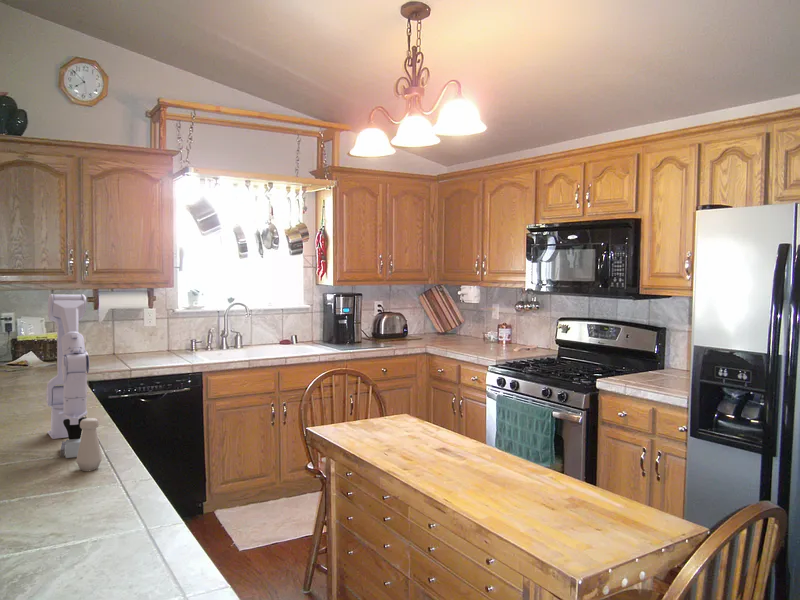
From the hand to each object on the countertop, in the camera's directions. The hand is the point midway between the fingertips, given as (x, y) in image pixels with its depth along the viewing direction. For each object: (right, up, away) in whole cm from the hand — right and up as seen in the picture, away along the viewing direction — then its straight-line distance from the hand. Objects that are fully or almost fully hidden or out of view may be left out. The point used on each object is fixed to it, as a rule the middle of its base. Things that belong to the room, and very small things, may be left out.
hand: (74, 444), depth 168 cm
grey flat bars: (-1, -2, +1) cm, 3 cm away
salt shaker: (+11, -3, -13) cm, 17 cm away
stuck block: (+1, -2, -3) cm, 4 cm away
